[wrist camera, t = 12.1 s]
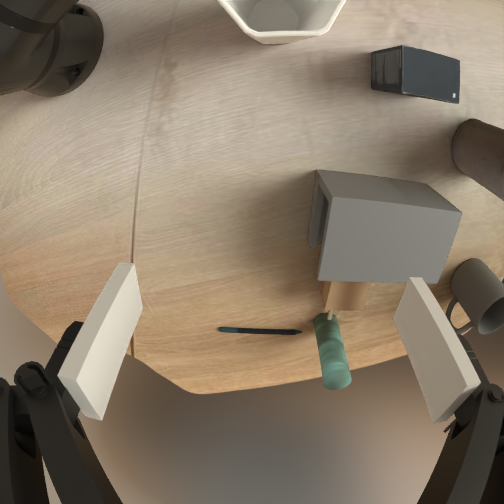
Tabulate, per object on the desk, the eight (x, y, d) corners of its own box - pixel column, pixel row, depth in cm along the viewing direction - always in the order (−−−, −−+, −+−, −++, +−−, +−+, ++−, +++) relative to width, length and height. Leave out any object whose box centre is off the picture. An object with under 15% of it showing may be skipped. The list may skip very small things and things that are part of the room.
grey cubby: (307, 239, 47) (317, 280, 38) (316, 169, 41) (332, 196, 32) (410, 245, 47) (437, 283, 38) (426, 184, 41) (462, 212, 32)
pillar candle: (470, 106, 34) (535, 127, 21) (501, 145, 36) (560, 176, 24) (440, 152, 39) (499, 187, 26) (473, 187, 41) (527, 229, 28)
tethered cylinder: (307, 329, 57) (316, 390, 45) (324, 251, 48) (342, 311, 36) (338, 330, 57) (351, 389, 45) (359, 253, 48) (386, 311, 36)
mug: (479, 248, 47) (512, 285, 37) (487, 277, 50) (516, 313, 40) (425, 289, 52) (451, 333, 41) (439, 314, 55) (462, 355, 45)
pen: (301, 332, 58) (301, 336, 57) (219, 329, 58) (218, 333, 57) (302, 328, 57) (302, 332, 56) (219, 325, 57) (218, 329, 56)
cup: (312, -12, 28) (344, -63, 13) (319, 55, 33) (358, 38, 18) (226, -9, 29) (204, -60, 14) (232, 58, 34) (213, 41, 19)
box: (420, 60, 32) (461, 60, 23) (419, 97, 35) (459, 106, 26) (370, 50, 32) (402, 43, 23) (369, 89, 35) (402, 93, 26)
